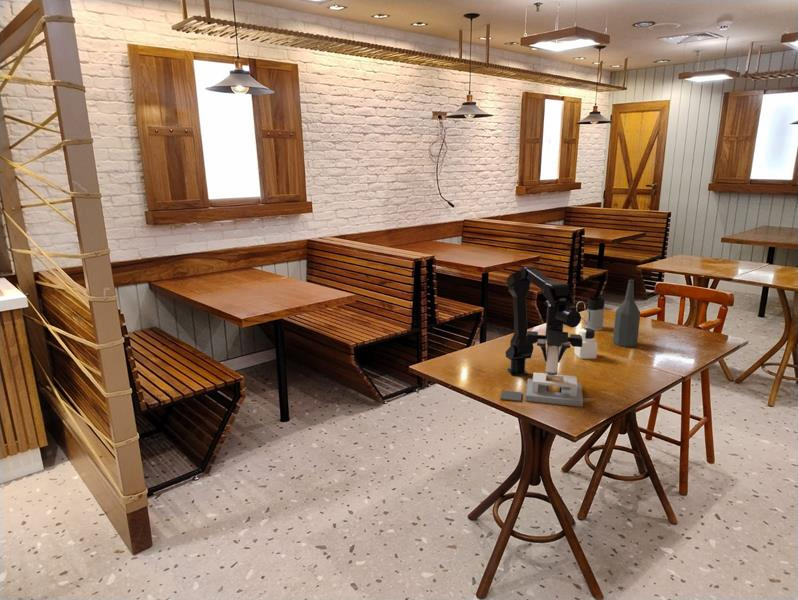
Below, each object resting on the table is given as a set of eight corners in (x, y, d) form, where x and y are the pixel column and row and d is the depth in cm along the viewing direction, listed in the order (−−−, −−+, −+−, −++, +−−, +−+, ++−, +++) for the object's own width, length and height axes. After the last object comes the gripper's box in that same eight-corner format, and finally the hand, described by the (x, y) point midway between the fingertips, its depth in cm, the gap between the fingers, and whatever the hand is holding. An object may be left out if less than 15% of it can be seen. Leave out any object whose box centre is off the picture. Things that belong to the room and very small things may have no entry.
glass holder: (606, 330, 270) (608, 300, 267) (577, 330, 270) (579, 301, 266) (599, 325, 279) (602, 296, 275) (571, 325, 278) (574, 296, 275)
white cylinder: (543, 371, 195) (545, 342, 192) (554, 370, 196) (556, 341, 193) (548, 375, 191) (550, 345, 189) (559, 375, 192) (561, 345, 189)
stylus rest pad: (502, 391, 198) (502, 390, 198) (521, 394, 196) (521, 392, 196) (500, 399, 191) (500, 398, 191) (520, 402, 190) (520, 400, 190)
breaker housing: (527, 383, 206) (528, 368, 204) (580, 388, 201) (581, 373, 199) (525, 400, 191) (526, 384, 189) (582, 406, 186) (584, 390, 184)
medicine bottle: (590, 353, 238) (592, 326, 235) (596, 358, 231) (598, 331, 228) (574, 353, 238) (576, 326, 235) (579, 359, 231) (582, 331, 228)
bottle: (631, 340, 254) (638, 277, 247) (640, 347, 245) (647, 282, 238) (609, 340, 255) (615, 277, 247) (617, 347, 245) (623, 282, 238)
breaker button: (547, 391, 198) (548, 384, 197) (559, 392, 197) (559, 385, 196) (547, 395, 194) (548, 388, 194) (559, 396, 193) (560, 390, 193)
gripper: (526, 324, 183) (524, 367, 187) (585, 328, 179) (581, 372, 183) (527, 315, 194) (525, 356, 198) (583, 318, 189) (579, 361, 193)
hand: (552, 362), depth 192 cm, fingers closed on white cylinder, 4 cm apart
